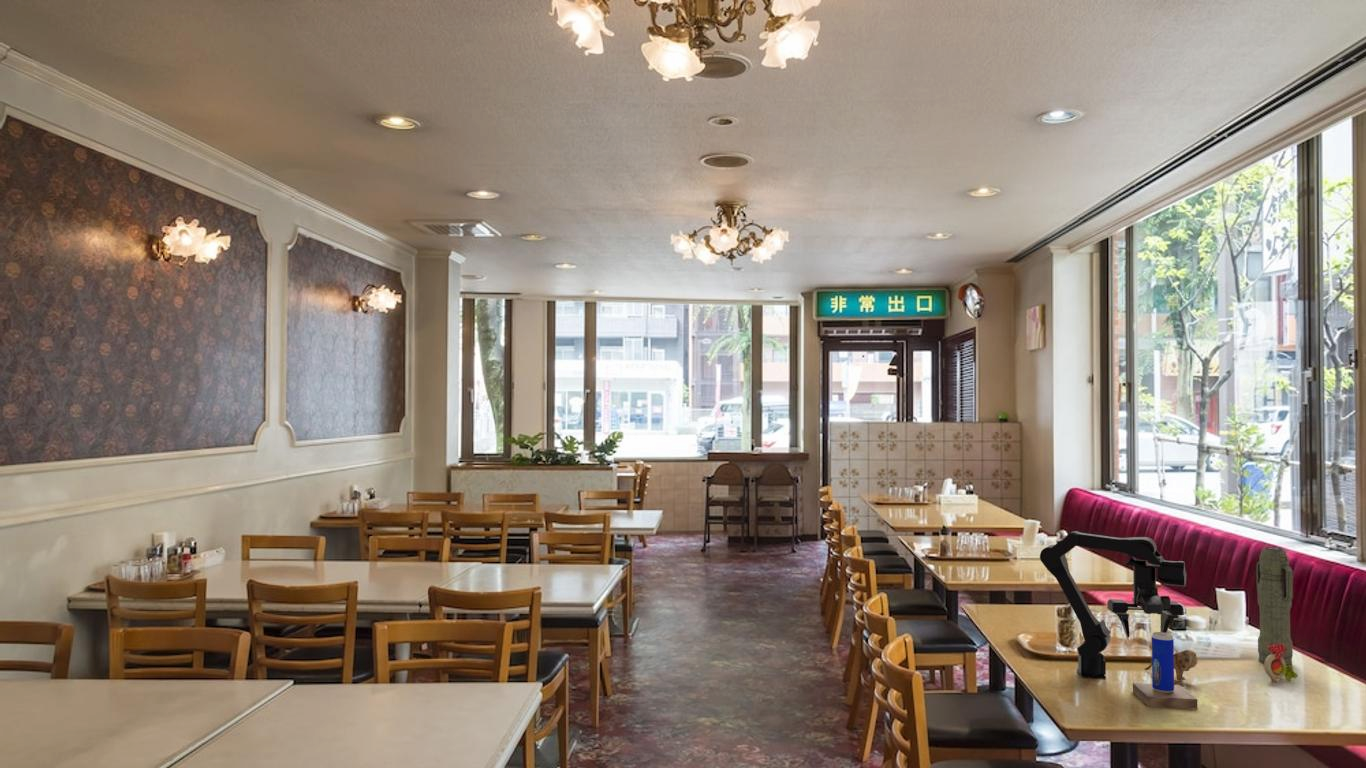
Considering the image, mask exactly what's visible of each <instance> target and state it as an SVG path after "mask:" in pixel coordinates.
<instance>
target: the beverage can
mask: <svg viewBox="0 0 1366 768" xmlns="http://www.w3.org/2000/svg"><path fill="white" fill-rule="evenodd" d="M1174 641H1175V639H1174V636H1173V634H1172V633H1168V632H1166V633H1164V632H1161V631H1156V632H1153V633H1152V635H1151V661H1152V666H1151V675H1152V676H1151V677H1152V678H1151V681H1152V682H1151V684H1152V687H1153V689H1154V690H1155V691H1158V692H1162V693H1172V692H1173V691H1174V685H1175V669H1174V654H1175V652H1174V651H1175V650H1174V647H1175V645H1174V644H1175V642H1174Z"/></svg>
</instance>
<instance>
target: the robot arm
mask: <svg viewBox="0 0 1366 768" xmlns="http://www.w3.org/2000/svg"><path fill="white" fill-rule="evenodd" d="M1075 547H1082V548H1089V549H1090V548H1091V549H1095V550H1096V549H1097V550H1104V551H1113V552H1117V553H1118V552H1119V553H1121V554H1124V555H1126V556H1129V557H1130V559H1129V560H1128V561H1126V562H1125V566H1131V567H1133V570H1132V571H1133V577H1132V578H1133V583H1131V584H1132V588H1133V597H1132V602H1133V603H1132V602H1126V601H1125V600H1123V599H1116V598H1115V599H1114V598H1113V599H1112V598H1110V599H1108V600H1107V603H1106V606H1107V607H1106V608H1107V610H1109V611H1111V613H1114V614H1115V615H1116V616H1117V617H1118V619H1119V620H1120V623H1121V626H1122V628H1123V630H1124V633H1125V635H1126V638H1130V625H1129V624H1130V622H1129V617H1130V614H1129V613H1128V611H1143V613H1144V614H1147V615H1152V614H1153V615H1154V614H1155V615H1156V614H1157V615H1160V632H1164V633H1168V629H1169V627H1170V625H1171V623H1172V622H1173V621H1174V620H1175V619H1178V618H1179V617H1180V616H1184V615H1185V612H1184V611H1185V610H1184V606H1183V605H1182V604H1180V603H1179V602H1178V601H1172V600H1171V597H1170V596H1169V595H1160V594H1159V590H1158V588H1157V580H1158V581H1159V582H1161V583H1162V585H1166V586H1176V587H1177V586H1178V587H1186V585H1187V571H1186V566H1185V564H1186V563H1185V561H1183V560H1181V561H1180V560H1178V561H1175V560H1165V558H1164V557H1163V556H1162V554H1161V553H1160V552H1159V551H1158V549H1157V547H1158V546H1157V544H1156V542H1155V541H1154V540H1153V539H1152V538H1150V537H1147V536H1136V537H1135V536H1132V537H1116V536H1106V535H1102V534H1092V533H1085V532H1080V531H1077V530H1075V531H1074V530H1073V531H1071V532H1069V533H1068V534H1067V535H1066V536H1065V537H1064V538H1063V539H1061V540H1059V542H1057V543H1056V544H1051V545H1047V546H1046V547H1044V548H1043V549H1041V551H1040V553H1039V560H1040V562H1041V563H1042V564H1043V566H1044V567H1045V568H1046V570H1047V571H1048V572H1049V573H1050V574H1051V575H1052V576H1053V577H1054V578H1055V579H1056V581H1057V582H1058V585H1059V586H1060V588H1061V590H1062V592H1063V594H1064V595H1065V597H1066V599H1067V601H1068V603H1069V604H1070V607H1071V609H1072V610H1073V612H1074V614H1075V616H1076V617H1077V620H1078V621H1079V624H1080V628H1081V633H1082V636H1083V639H1084V641H1083V642H1082V643H1081V644H1080V645H1079V646H1078V647H1077V648H1076V649H1077V660H1078V661H1077V664H1078V665H1077V666H1078V669H1076V672H1077V673H1078V674H1079V676H1081V677H1082V678H1089V679H1090V678H1091V679H1092V678H1093V679H1106V673H1107V671H1106V669H1107V668H1106V667H1107V666H1106V663H1107V662H1106V659H1104V654H1103V653H1102V652H1103V651H1105V650H1106V649H1107V647H1108V646H1109V645H1110V642H1111V639H1112V637H1111V630H1109V629H1108V627H1107V625H1106V622H1105V620H1104V619H1101V620H1100V621H1099V620H1098V618H1096V617H1095V616H1094V614H1093V612H1092V610H1091V609H1090V607H1089V605H1088V603H1087V602H1086V599H1085V597H1084V595H1083V594H1082V592H1081V590H1080V589H1079V587H1078V585H1077V583H1076V581H1075V579H1074V578H1073V576H1072V574H1071V572H1070V569H1069V564H1068V560H1067V559H1068V558H1067V556H1066V554H1067V553H1069V552H1070V551H1071V550H1073V549H1074V548H1075ZM1159 595H1160V596H1159Z"/></svg>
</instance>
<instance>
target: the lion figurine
mask: <svg viewBox="0 0 1366 768" xmlns="http://www.w3.org/2000/svg"><path fill="white" fill-rule="evenodd" d="M1198 660H1199V659H1198V657H1197V653H1196V652H1195V651H1194V650H1192V649H1186V650H1185V649H1184V650H1183V651H1180V652H1174V672H1175V675H1176V681H1177V682H1179V683H1180V682H1183V681H1184V680H1185V679H1186V678H1185V677H1184V676H1183V675H1184V672H1188V671H1190V670H1191V669H1192V668H1194V667H1196V665H1197V664H1198ZM1150 669H1152V660H1151V662H1150V665H1149V666H1147V667H1145V668H1144V670H1145V671H1148V670H1150Z"/></svg>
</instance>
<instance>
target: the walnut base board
mask: <svg viewBox="0 0 1366 768" xmlns="http://www.w3.org/2000/svg"><path fill="white" fill-rule="evenodd" d="M1132 693H1133V694H1134V695H1136V697H1137V698H1138V699H1140V700H1141V701H1142V702H1143V703H1144V705H1146V706H1147V707H1157V708H1169V709H1170V708H1173V709H1174V708H1175V709H1189V708H1197V709H1198V698H1196V697H1195V696H1194V695H1193V694H1191V692H1189V691H1188V690H1186V689H1185V688H1184V687H1182V686H1181V685H1180V684H1174V691H1173V692H1172V693H1162V692H1158V691H1155V690H1154V689H1153V687H1152V683H1144V682H1142V683H1141V682H1132Z"/></svg>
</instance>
